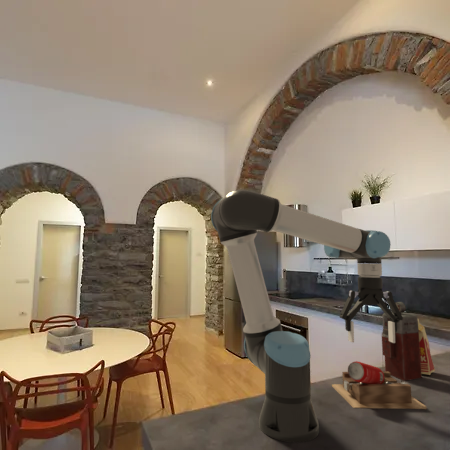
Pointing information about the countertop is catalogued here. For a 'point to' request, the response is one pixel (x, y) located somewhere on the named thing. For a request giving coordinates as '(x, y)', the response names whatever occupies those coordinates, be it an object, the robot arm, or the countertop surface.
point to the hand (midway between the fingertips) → (371, 341)
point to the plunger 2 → (401, 382)
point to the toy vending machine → (402, 347)
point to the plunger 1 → (349, 385)
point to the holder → (378, 394)
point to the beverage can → (365, 373)
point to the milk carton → (425, 352)
